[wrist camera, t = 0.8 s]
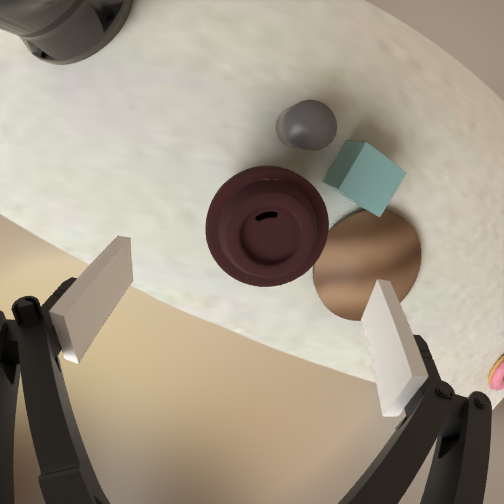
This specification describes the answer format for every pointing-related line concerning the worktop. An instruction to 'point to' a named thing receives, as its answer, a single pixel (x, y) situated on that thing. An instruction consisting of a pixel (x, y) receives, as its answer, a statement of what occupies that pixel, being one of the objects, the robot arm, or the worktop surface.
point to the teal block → (364, 176)
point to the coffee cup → (266, 226)
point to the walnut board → (365, 261)
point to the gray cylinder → (307, 125)
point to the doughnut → (497, 375)
